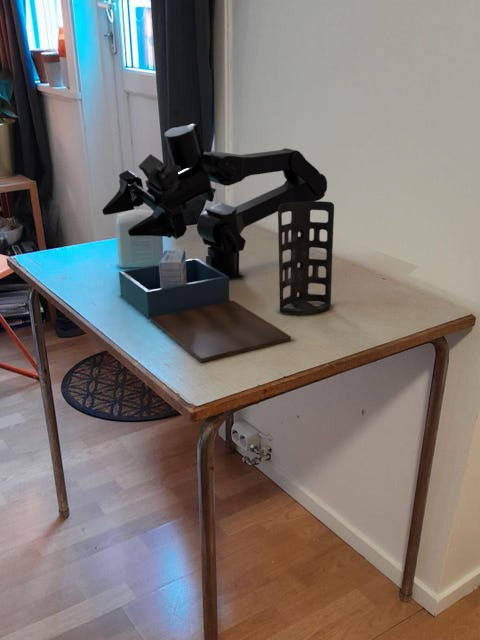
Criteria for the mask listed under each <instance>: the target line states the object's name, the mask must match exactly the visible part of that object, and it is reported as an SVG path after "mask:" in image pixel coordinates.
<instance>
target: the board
mask: <svg viewBox="0 0 480 640" xmlns="http://www.w3.org/2000/svg"><path fill="white" fill-rule="evenodd" d="M149 320H150V323H151V324H153V325H154V326H155V327H157V328H158V329H159V330H160V331H161V332H162V333H164V334H165V335H167V336H168V337H169V338H170V339H171V340H173V342H175V343H176V344H178V345H179V346H180V347H181V348H182V349H184V350H185V351H186V352H187V353H188V354H190V355H191V356H192V357H194V358H195V359H196V360H197V361H198V362H199V363H202V364H203V363H206V362H209V361H210V362H211V361H214V360H218V359H222V358H225V357H229V356H235V355H237V354H238V355H239V354H242V353H246V352H250V351H253V350H259V349H262V348H266V347H270V346H274V345H277V344H281V343H286V342H290V341H291V339H292V338H291V335H289V334H287V332H284V331H283V330H282V329H280V328H278V327H276V326H275V325H273V324H272V323H270V322H268V321H267V320H265V319H264V318H263V317H260V316H259V315H257V314H255V313H254V312H252V311H250V310H249V309H248V308H246V307H244V306H243V305H241V304H240V303H238V302H236V301H235V300H229V302H224V303H219V304H214V305H209V306H205V307H200V308H195V309H190V310H185V311H181V312H176V313H171V314H166V315H161V316H156V317H152V318H150V319H149Z"/></svg>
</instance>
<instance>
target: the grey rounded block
mask: <svg viewBox="0 0 480 640" xmlns="http://www.w3.org/2000/svg"><path fill="white" fill-rule="evenodd" d="M153 212H154V211H153V210H151V209H150V210H149V209H134V210H129V211H124V212H119V213H117V215H116V216H117V217H116V220H115V231H116V245H117V259H118V267H120V268H141V267H147V266H153V265H159V263H160V261H161V258H162V256H163V253H164V238H163V237H164V236H130V235H129V234H128V230H129V229H130V228H132V227H133V226H135V225H136V224H138V223H139V222H141V221H143V220H144V219H146V218H148V217H149V216H151V215H152V214H153Z"/></svg>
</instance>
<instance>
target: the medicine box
mask: <svg viewBox="0 0 480 640" xmlns="http://www.w3.org/2000/svg"><path fill="white" fill-rule="evenodd" d="M186 255H187V254H186V251H185V250H184V249H166V250H163V256H162V258H161V261H160V263H159V270H160V284H161V288H164V287H170V286H175V285H180V284H186V283H187V279H186V260H187V259H186V258H187V257H186Z"/></svg>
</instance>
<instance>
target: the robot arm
mask: <svg viewBox="0 0 480 640" xmlns="http://www.w3.org/2000/svg"><path fill="white" fill-rule="evenodd" d="M163 134H164V138H165V141H166V144H167V147H168V148H167V149H168V151H169V154H170V158H171V162H172V165H168V166H167V165H166V164H165V163H164V162H163V161H161V160H160V159H158V158H157V157H156V156H154V155H153V154H151V153H150V154H149V155H147V156H146V157H145V158H144V160H143V161H142V162H140V163H139V164H138V169H139V170H141V171H142V173H143V174H144V176H145V177H146V179H147V180H145V181H144V182H145V187H147V190H146V189H145V188H144V184H143V179H142V178H140V177H139V176H138V175H137V174H136V173H134V172H132V171H130V170H128V169H127V170H125V171H123V172H121V173H119V175H118V178H119V180H118V182H119V187H118V191H117V192H116V193H115V194H114V196H113V197H112V198H111V199H110V201H108V202H107V204H106V205H105V206H104V207H102V209H101V211H102V214H103V215H104V216H108V215H114V214H120V213H123V212H126V211H130V210H135V207H137V208H139V207H141V206H142V205H144V204H145V205H146V206H147V207H149V208H150V210H151V211H154V212H153V214H152V215H151V216H149V217H148V218H146V219H144V220H143V221H141V222H139V223H138V224H136V225H135V226H133V227H132V228H130V229H129V230H128V234H129V235H130V236H163V237H165V238H166V237H167V239H170V238H174V239H175V240H178V239H180V238H182V237H184V235H185V234H186V231H187V230H188V227H187V221H186V215H185V210H186V209H188V206H187V204H189V202H191V201H194V200H195V199H197V198H199V197H200V198H201V199H202V200H204V201H207V202H211V203H212V202H214V199H215V193H216V190H217V189H216V188H214V187H213V186H212V183H215V184H218V185H221V186H224V187H225V186H226V187H229V186H232V185H235V184H238V183H240V182H243V180H245V179H246V178H247V177H248V178H249V177H250V176H257V175H263V174H271V173H277V172H282V173H283V177H284V179H285V180H284V182H283V184H282V185H280V186H277V187H276V188H273V189H271V190H269V191H266V192H265V193H263V194H260V195H257V196H256V197H253V198H251V199H249V200H248V201H245V202H243V203H240V204H239V205H237V206H231V205H229V204H226V203H223V202H219V203H217V204H215V205H214V206H212V207H208V208H204V212H203V213H201V214H200V215H199V216H198V220H197V224H196V231H197V234H198V235H199V237H201V239H202V242H203V245H205V246H207V254H206V255H205V263H206V264H208V265H210V266H211V267H213V268H215V269H216V270H218V271H220V272H222V273H223V274H225V275H227V276H229V280H232V279H236V278H242V277H243V276H244V273H242V272H240V252H241V251H244V249H245V246H246V242H247V241H246V239H245V238H244V237H243V236H242V233H243V231H244V229H245V228H247V227H249V226H251V225H253V224H255V223H257V222H258V221H262V220H264V219H265V218H267V217H270V216H272V215H273V214H276V213H278V206H279V205H280V204H284V203H292V202H309V201H321V200H322V199H323V198H324V197H325V196H326V193H327V190H328V179H327V177H326V176H325V175H324V173H321V172H320V171H319V170H318V169H317V168H316V167H315V166H314V165H313V164H311V162H309V161H308V160H307V159H306V158H305V156H304V155H303V153H301V151H299V150H296V149H291V148H287V147H286V148H282V149H277V150H269V151H261V152H254V153H246V154H238V153H237V154H236V153H230V152H223V151H215V150H214V151H209V152H207V151H205V149H204V145H203V141H202V137H201V130H200V126H199V125H198V124H196V123H191V124H188V125H182V126H178V127H172V128H170V129H168V130H167V131H165V132H164V133H163ZM174 166H177V167H178V168H179V169H180V170H181V171H178V170H177V169H176V168H175V167H174ZM211 182H212V183H211Z"/></svg>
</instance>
